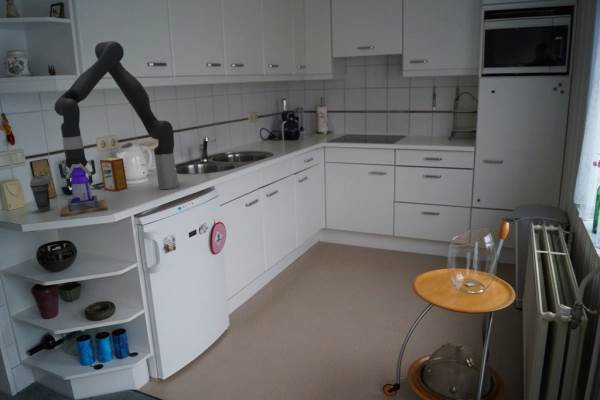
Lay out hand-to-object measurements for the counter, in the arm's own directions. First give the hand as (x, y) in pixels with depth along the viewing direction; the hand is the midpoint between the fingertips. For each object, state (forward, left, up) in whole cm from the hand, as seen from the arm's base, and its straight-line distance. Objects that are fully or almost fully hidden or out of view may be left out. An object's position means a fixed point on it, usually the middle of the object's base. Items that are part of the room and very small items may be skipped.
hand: (80, 185), depth 204 cm
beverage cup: (+16, -9, -11) cm, 21 cm away
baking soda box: (-15, -35, -11) cm, 39 cm away
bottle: (0, 0, -8) cm, 8 cm away
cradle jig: (0, 0, -10) cm, 10 cm away
